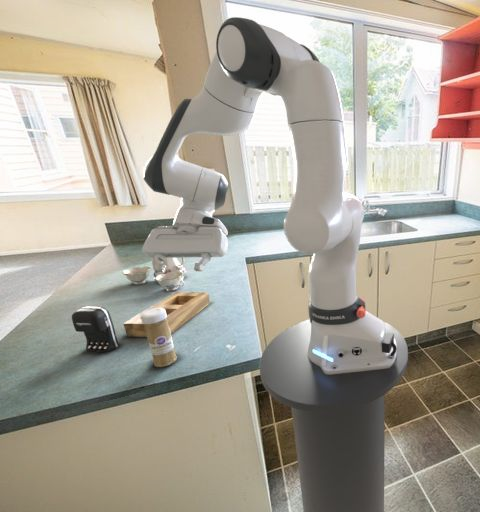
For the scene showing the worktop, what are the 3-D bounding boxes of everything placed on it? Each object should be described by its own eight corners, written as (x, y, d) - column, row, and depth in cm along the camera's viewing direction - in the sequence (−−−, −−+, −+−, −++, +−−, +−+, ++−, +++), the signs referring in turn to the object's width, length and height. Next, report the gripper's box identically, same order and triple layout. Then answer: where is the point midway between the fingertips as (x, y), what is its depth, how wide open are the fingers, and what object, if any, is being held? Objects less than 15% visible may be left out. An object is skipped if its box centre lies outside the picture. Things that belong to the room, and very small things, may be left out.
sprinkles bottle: (159, 370, 68) (145, 318, 64) (151, 363, 70) (136, 313, 66) (181, 359, 71) (168, 310, 67) (172, 353, 74) (160, 305, 70)
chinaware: (117, 290, 113) (99, 250, 106) (157, 271, 128) (144, 234, 121) (176, 298, 107) (162, 256, 100) (211, 277, 121) (200, 239, 115)
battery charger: (80, 353, 73) (65, 312, 70) (95, 344, 77) (82, 305, 74) (107, 354, 73) (93, 313, 70) (121, 345, 77) (108, 306, 73)
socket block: (210, 303, 99) (207, 292, 98) (166, 337, 80) (163, 324, 79) (177, 303, 100) (175, 292, 98) (127, 336, 81) (123, 323, 80)
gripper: (146, 219, 79) (128, 266, 73) (224, 219, 81) (213, 265, 74) (160, 232, 85) (145, 276, 79) (233, 231, 86) (224, 275, 80)
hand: (179, 270), depth 76 cm, fingers open, 8 cm apart
